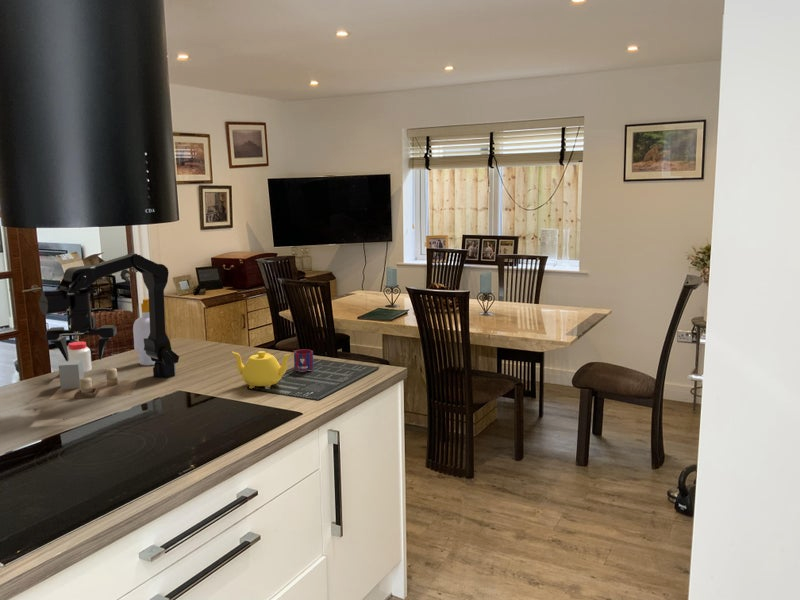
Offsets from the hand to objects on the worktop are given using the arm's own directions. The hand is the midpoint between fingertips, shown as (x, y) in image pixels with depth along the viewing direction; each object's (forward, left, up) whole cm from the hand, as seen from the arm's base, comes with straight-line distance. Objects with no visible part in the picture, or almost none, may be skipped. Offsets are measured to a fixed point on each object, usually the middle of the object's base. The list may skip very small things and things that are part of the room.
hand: (84, 360), depth 194 cm
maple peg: (0, 0, -11) cm, 11 cm away
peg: (-6, -10, -11) cm, 16 cm away
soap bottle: (-13, -40, -13) cm, 43 cm away
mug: (-68, -20, -13) cm, 72 cm away
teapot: (-53, -4, -13) cm, 55 cm away
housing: (+6, -11, -11) cm, 16 cm away
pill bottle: (+9, -31, -13) cm, 34 cm away
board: (-2, -6, -12) cm, 14 cm away
